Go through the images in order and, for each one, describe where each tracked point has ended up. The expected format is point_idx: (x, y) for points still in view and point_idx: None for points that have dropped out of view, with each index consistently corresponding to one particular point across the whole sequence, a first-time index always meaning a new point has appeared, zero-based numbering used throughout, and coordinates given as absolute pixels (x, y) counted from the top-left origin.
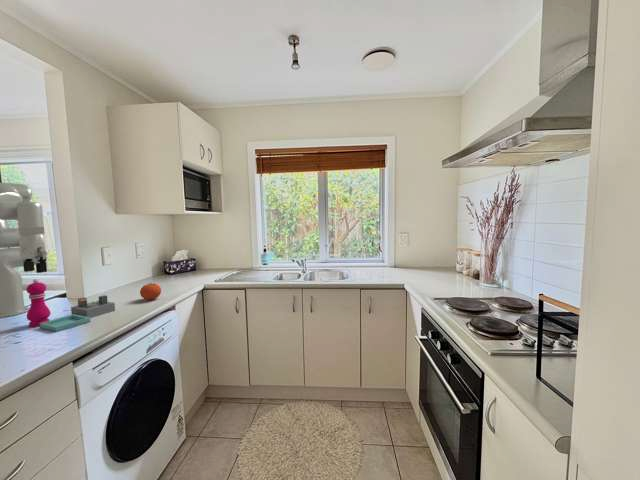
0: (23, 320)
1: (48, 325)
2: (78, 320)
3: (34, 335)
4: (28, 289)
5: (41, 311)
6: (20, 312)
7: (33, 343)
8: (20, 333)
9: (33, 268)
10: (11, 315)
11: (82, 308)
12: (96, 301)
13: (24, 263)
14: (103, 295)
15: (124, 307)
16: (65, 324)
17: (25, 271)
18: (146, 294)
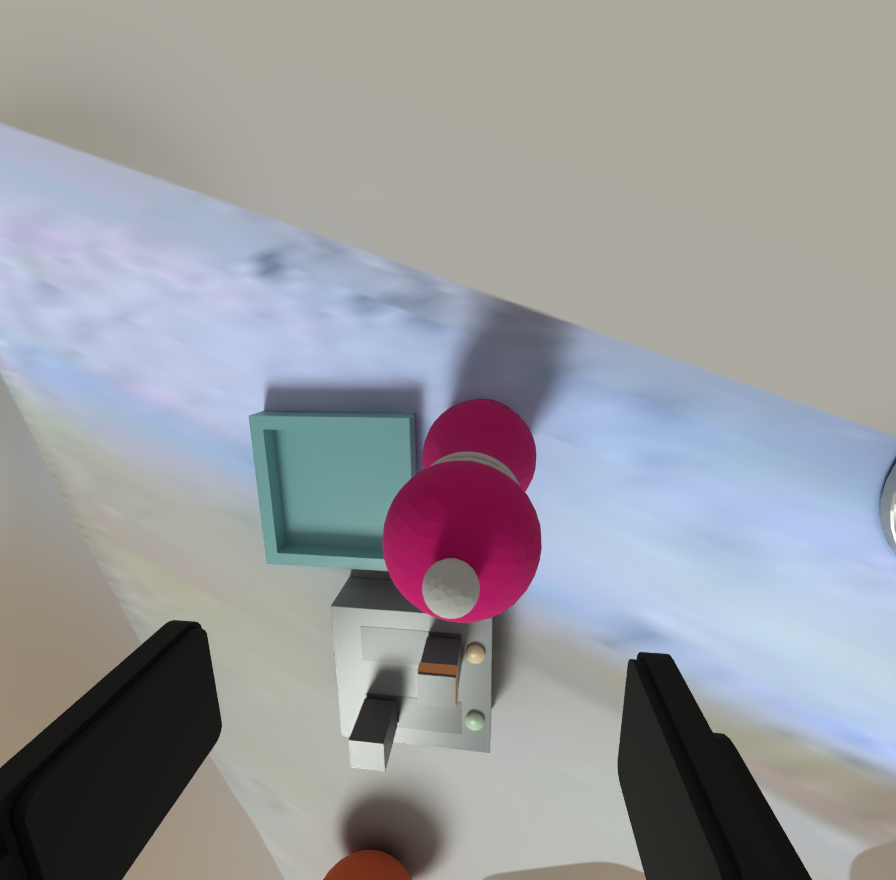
0: (682, 448)
1: (321, 418)
2: (267, 517)
3: (312, 346)
4: (437, 469)
5: (424, 459)
6: (885, 513)
7: (191, 292)
8: (416, 331)
9: (632, 808)
10: (893, 467)
11: (391, 620)
12: (477, 732)
13: (719, 868)
14: (380, 766)
15: None
16: (256, 458)
17: (643, 661)
18: (336, 877)
